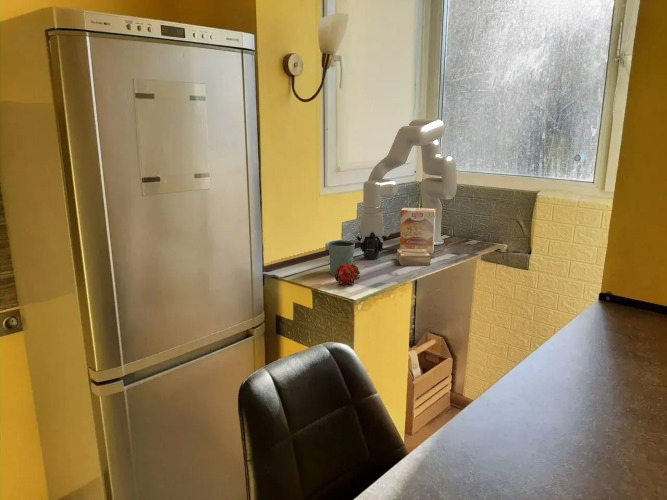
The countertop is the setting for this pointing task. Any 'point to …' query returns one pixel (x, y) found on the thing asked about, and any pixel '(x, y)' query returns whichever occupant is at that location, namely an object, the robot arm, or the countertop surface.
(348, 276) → the dragon fruit
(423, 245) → the coffeecake box
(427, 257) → the base
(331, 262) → the grey-green cup
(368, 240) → the supplement bottle
